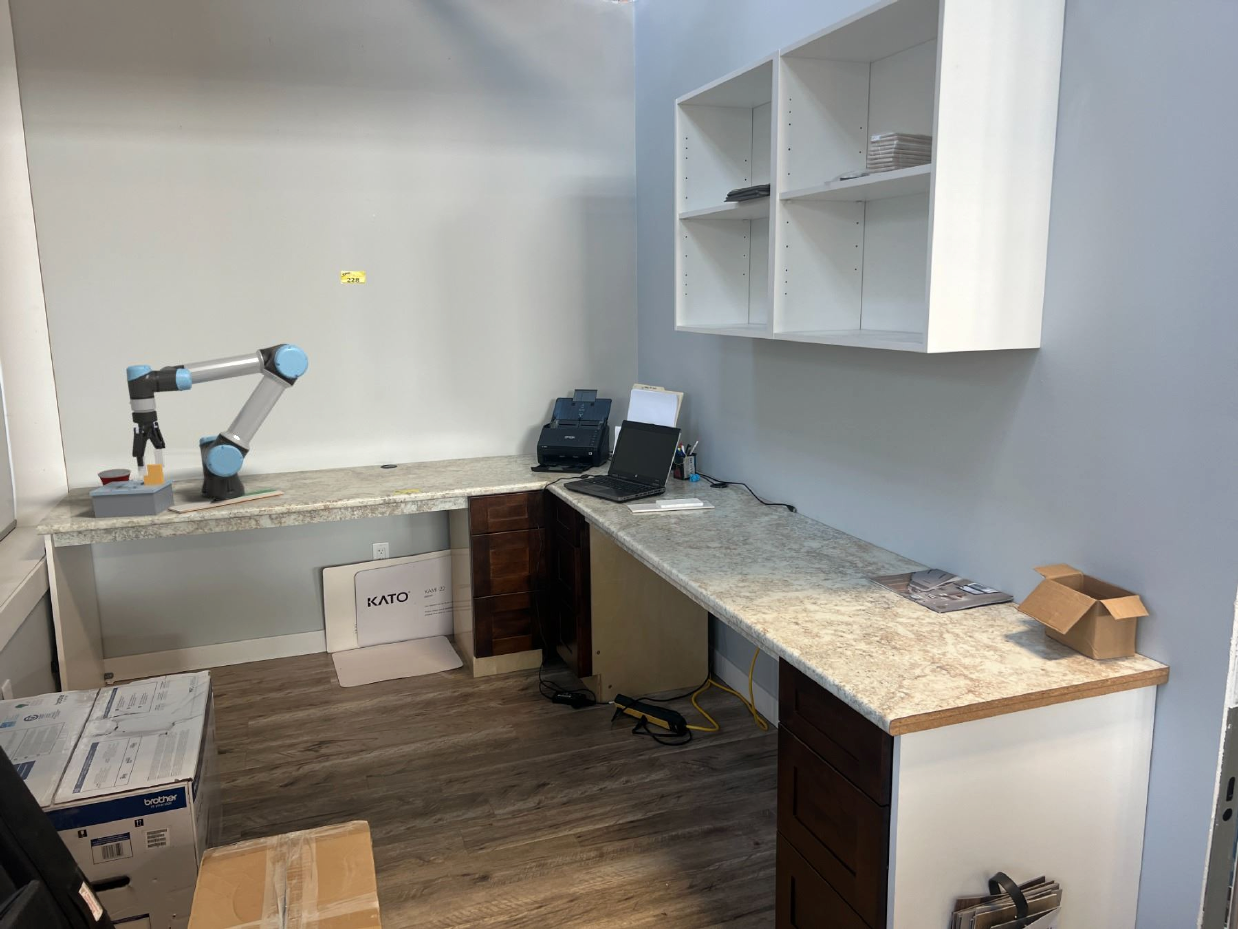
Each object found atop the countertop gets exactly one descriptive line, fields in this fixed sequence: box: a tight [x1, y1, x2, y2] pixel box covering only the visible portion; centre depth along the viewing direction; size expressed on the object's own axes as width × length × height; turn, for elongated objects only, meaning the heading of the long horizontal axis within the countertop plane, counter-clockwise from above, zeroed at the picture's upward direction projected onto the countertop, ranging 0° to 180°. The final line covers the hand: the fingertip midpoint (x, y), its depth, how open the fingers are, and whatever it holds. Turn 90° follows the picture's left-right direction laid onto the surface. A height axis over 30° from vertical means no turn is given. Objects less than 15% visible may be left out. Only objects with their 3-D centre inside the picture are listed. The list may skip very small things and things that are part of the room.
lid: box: [88, 463, 174, 497], centre depth 303 cm, size 22×16×8 cm
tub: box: [91, 483, 175, 519], centre depth 305 cm, size 20×15×9 cm
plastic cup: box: [97, 468, 132, 486], centre depth 321 cm, size 11×11×12 cm
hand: (152, 471), depth 303 cm, fingers open, 13 cm apart
